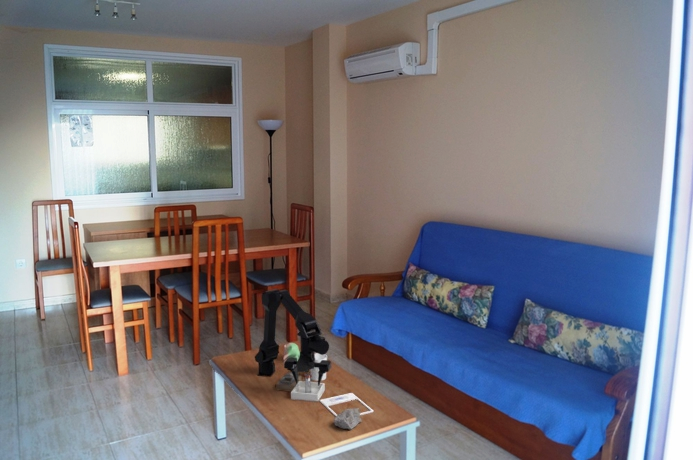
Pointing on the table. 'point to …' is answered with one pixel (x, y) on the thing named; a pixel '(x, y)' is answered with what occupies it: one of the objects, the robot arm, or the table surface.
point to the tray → (314, 396)
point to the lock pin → (308, 383)
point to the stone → (348, 418)
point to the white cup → (315, 371)
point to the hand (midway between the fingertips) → (308, 384)
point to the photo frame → (342, 399)
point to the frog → (291, 351)
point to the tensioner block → (287, 382)
